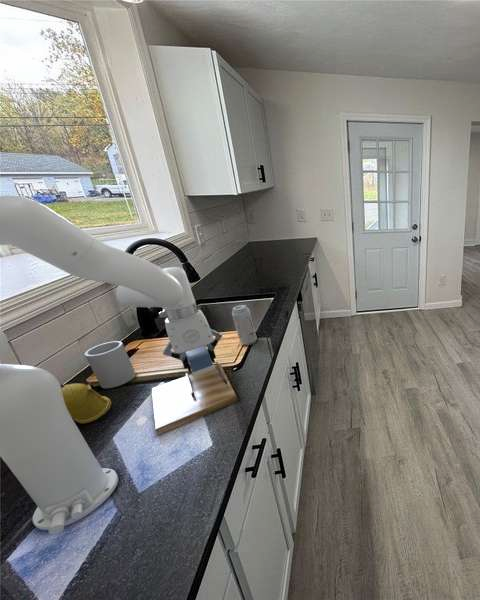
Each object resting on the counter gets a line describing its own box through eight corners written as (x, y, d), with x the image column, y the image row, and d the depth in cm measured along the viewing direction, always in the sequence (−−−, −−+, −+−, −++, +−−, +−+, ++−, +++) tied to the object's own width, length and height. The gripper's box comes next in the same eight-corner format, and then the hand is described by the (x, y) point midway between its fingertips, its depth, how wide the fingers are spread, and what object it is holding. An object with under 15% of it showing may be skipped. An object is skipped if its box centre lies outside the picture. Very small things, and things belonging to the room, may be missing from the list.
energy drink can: (256, 344, 121) (247, 308, 115) (239, 347, 119) (229, 311, 114) (257, 337, 126) (248, 303, 121) (241, 340, 125) (231, 305, 119)
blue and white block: (215, 369, 93) (210, 354, 91) (193, 377, 90) (187, 361, 88) (208, 354, 101) (203, 340, 99) (188, 361, 98) (183, 347, 96)
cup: (98, 381, 104) (82, 350, 99) (132, 368, 110) (119, 338, 105) (103, 392, 98) (86, 359, 93) (138, 377, 104) (124, 346, 100)
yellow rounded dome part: (103, 428, 83) (77, 382, 77) (63, 439, 80) (34, 392, 74) (119, 402, 93) (97, 359, 87) (84, 411, 90) (59, 367, 84)
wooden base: (237, 401, 90) (234, 391, 89) (158, 435, 79) (153, 424, 78) (221, 368, 106) (219, 360, 105) (153, 393, 96) (149, 384, 94)
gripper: (144, 325, 81) (168, 382, 88) (218, 305, 90) (234, 358, 97) (144, 316, 86) (166, 371, 93) (213, 299, 96) (229, 349, 103)
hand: (201, 364), depth 95 cm, fingers closed on blue and white block, 5 cm apart
